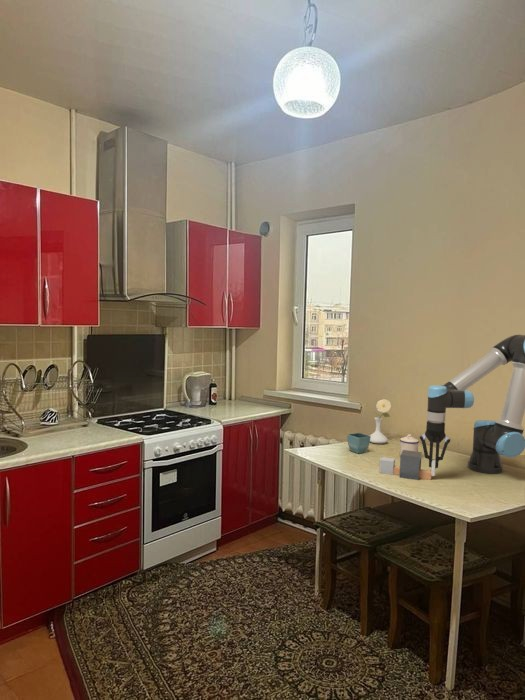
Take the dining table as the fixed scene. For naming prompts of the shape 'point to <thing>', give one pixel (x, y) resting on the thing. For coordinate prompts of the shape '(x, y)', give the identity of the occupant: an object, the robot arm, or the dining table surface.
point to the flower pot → (358, 442)
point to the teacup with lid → (408, 444)
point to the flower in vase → (382, 407)
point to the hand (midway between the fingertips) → (433, 474)
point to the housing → (410, 464)
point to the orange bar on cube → (398, 468)
